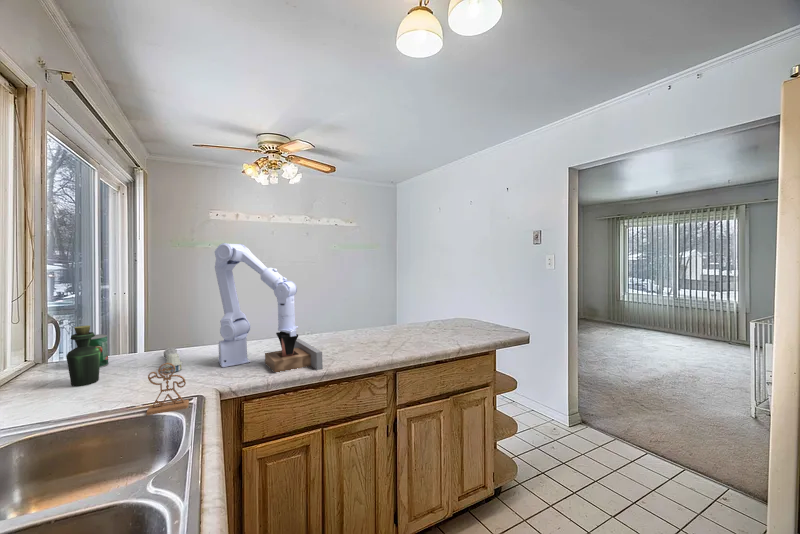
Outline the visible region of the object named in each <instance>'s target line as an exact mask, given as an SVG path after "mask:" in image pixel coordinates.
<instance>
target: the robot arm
mask: <svg viewBox="0 0 800 534" xmlns="http://www.w3.org/2000/svg"><path fill="white" fill-rule="evenodd" d="M214 256H215V262H214V263H215V265H214V271H215V276H216V280H217V286H218V289H219V294H220V295H219V296H220V299H221V304H222V308H223V313H224V315H223V316H222V318H221V320H220V322H219V323H220V327H219V328H220V329H219V333H220V336H221V337H222V339H223V340H219V341H218V363H219V365H220V366H221V368H227V367H233V366H237V365H243V364H250V363H251V360H250V359H249V358H248V343H247V340H248V338H247V337H248V334H249V332H250V331H251V322H250V321H249V320H248V319H247V314H245V313H244V312H243V311H241V305H240V301H239V297H238V293H237V288H236V287H237V286H236V282H235V278H234V273H233V271H234V269H235V267H236V265H238V264H240V263H245V265H247V266H249V268H250V269H252V270H254V271H255V272H256V273H257V274H259V275H260V280H261V281H262V282H263V283H264V284H265V285H267V286H268V287H269V288H270V289H271V290H272V291H273V293H274V296H275V297H276V303H277V321H278V323H277V327H278V328H277V331H278V332H276V333H275V335H276V336H277V337H278V340H279V343H280V347H281V349H282V339H283V342H284V345H285V351H286V355H289V354H293V350H294V345H295V342H296V340H297V339H299V334H297V329H299V326H298V325H296V310H295V309H296V308H295V306H296V305H295V302H296V301H295V295H297V292H298V287H297V284H296V283H295V282H294V281H293V280H288V278H286V277H284V276H283V275H281V274H280V272H278V269H277V268H276V267H275V268H273V267H267V266H266V265H265V264H264V263H263V262H262V261H261V260H260V259H259V258H257V256H256V255H255V254H253V253H252V252H251V249H250V248H248V247H247V246H246V245H244V244H243V243H226V242H222V243H221V244H219V245H218V246H217V248H216V249H215V250H214ZM249 362H250V363H249Z"/></svg>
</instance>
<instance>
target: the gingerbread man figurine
mask: <svg viewBox="0 0 800 534" xmlns="http://www.w3.org/2000/svg"><path fill="white" fill-rule="evenodd" d="M167 364H168V365H171V366H172V367H173V368H171V367H169V368H168V369H166V367H163V366H164V365H167ZM162 367H163V368H162ZM161 368H162V369H161ZM171 369H174V371H173V372H172V371H171V372H166V370H168V371H170V370H171ZM175 372H176V371H175V366H174V365H173V364H171V363H167V362H164V363H163V364H161V365H160V366H159V368H158V373H157V372H156V371H151V372H149V373H148V375H147V378H148V381H149V383H151V384H153V385H156V386H159V387H160V390H159V391H160V393H159V394H158V396H157V397H156V399H155V401H154V403H153V404H152V405H149V407H148V408H147V410H146V412H145V413H146V416H151V415H156V414H163V413H168V412H173V411H179V410H180V411H181V410H186V409H188V408H189V405H190V400H189V399H183V397H182V396H181V395H180V394H179V393H178V391H177V390H176V388H175V384H176V386H177V388H180V389H181V388H184V387H185V386H186V382H187V381H186V378H184V376H182V375H179V374H175ZM152 374H154V375H153V376H150V375H152ZM158 375H159V376H158ZM173 377H174V378H175V377H177V378H178V377H179V378H181V380H182V381H181V380H180V381H179V382H178V380H177V381H176V380H175V381H172V388H169V387H170V385H169V381H171V380H172V378H173ZM154 378H156V379H162V380H163V382H165V384H166V386H165V388H164V389H163V382H158V383H157V382H154V381H153V380H152V379H154ZM181 384H183V385H181ZM170 391H171V392H172V391H173V392H174V394H175V395H177V397H176V398H175V399H174V398H173V397H172V396H171V395H170V393H167V394H166V396H165V398H164V400H163V401H160V400H158V399H159V397H160V396H161V394H162V393H163V392H170ZM167 398H169V400H170V402H165V401H166V399H167Z"/></svg>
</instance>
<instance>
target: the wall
mask: <svg viewBox="0 0 800 534" xmlns="http://www.w3.org/2000/svg"><path fill="white" fill-rule="evenodd" d="M298 347H299V348H300V349H302V350H304V351H305V352H307V353H308V354H310V355H311V366H310V367H312V368H313V369H315V370H316V371H320V370H323V351H322V350H320V349H318V348H316V347H314V346H313V345H311V344H309V343H307V342H305V341H303V340H302V339H300V338H297V340H296V342H295V345H294V348H298Z"/></svg>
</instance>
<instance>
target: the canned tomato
mask: <svg viewBox="0 0 800 534" xmlns="http://www.w3.org/2000/svg"><path fill="white" fill-rule="evenodd" d="M89 345H90V346H94V347H97V348H99V350H100V351H101V353H100V368H104V367H106V366H108V365H109V364H110V362H109V346H108V334H105V333H99V334H95V336H94V337H92V338H91V341H90V344H89ZM100 368H99V369H100Z"/></svg>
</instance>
